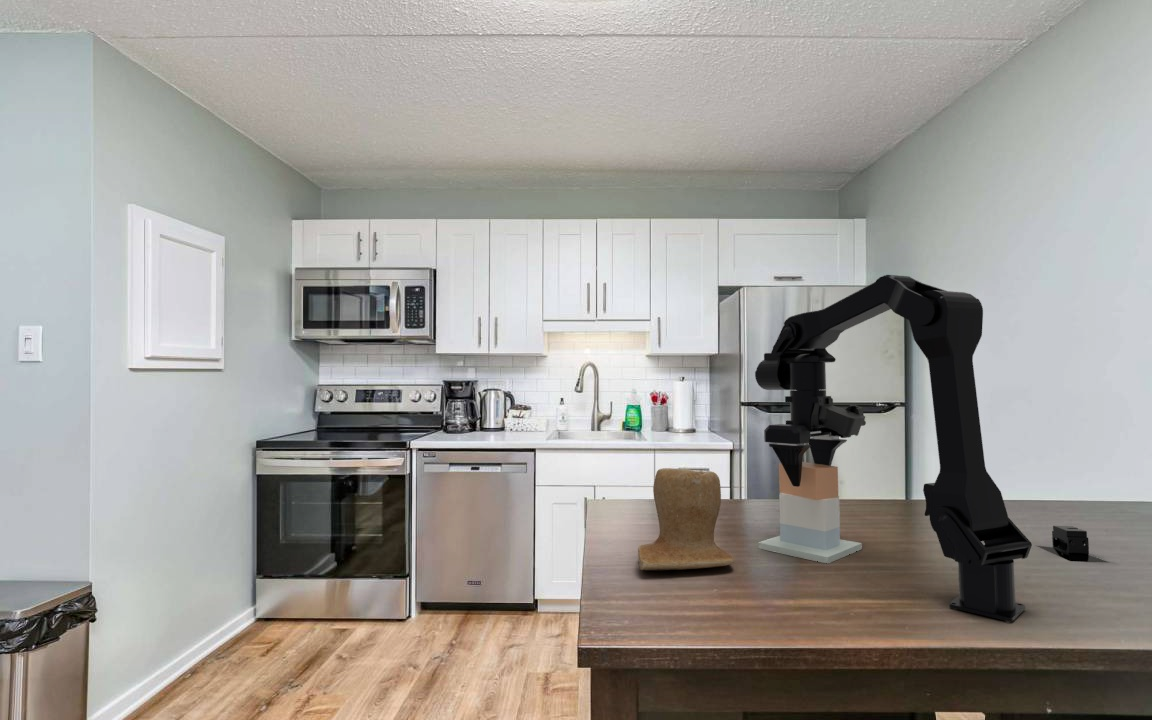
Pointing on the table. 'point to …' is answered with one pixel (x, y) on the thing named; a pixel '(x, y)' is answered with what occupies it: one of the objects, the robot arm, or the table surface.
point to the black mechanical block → (1071, 544)
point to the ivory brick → (809, 512)
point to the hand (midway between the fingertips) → (810, 483)
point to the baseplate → (810, 551)
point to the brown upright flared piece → (685, 522)
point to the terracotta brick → (811, 482)
